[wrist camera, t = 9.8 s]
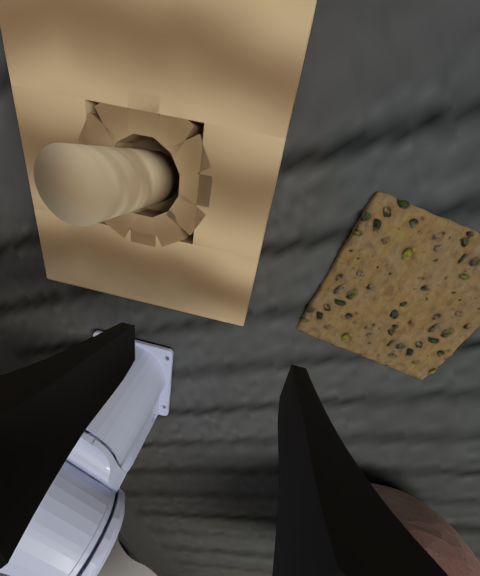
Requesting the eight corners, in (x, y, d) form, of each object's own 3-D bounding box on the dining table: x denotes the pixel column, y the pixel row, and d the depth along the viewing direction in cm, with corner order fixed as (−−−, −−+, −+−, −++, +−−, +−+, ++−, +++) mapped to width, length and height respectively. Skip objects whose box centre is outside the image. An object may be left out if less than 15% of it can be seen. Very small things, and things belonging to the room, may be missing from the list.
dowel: (176, 206, 18) (106, 235, 11) (133, 193, 18) (38, 214, 11) (182, 157, 17) (108, 156, 10) (136, 144, 17) (29, 132, 10)
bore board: (247, 310, 22) (243, 326, 20) (69, 267, 23) (47, 278, 21) (312, 22, 14) (317, -4, 11) (29, -26, 14) (-15, -57, 12)
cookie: (292, 327, 22) (292, 334, 22) (373, 186, 17) (378, 188, 16) (419, 378, 23) (424, 387, 22) (542, 256, 17) (555, 261, 16)
